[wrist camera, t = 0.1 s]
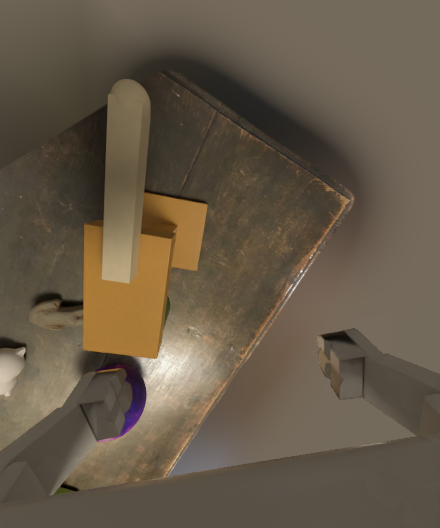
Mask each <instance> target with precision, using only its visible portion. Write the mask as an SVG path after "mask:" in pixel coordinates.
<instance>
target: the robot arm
mask: <svg viewBox="0 0 440 528" xmlns="http://www.w3.org/2000/svg"><path fill="white" fill-rule="evenodd" d="M317 344H318V345H319V347H320V350H319V351H318V361H319V365H320V368H321V370H322V372H323V374H324V375H325V377H327V378H329V379H330V380H331V387H332V388H333V390H334V392H335V393H336V395H337V396H338V398H339V399H340V400H346V399H353V398H361V397H363V399H365V400H366V401H368V402H369V403H371V404H372V405H373V406H375V407H376V408H378V409H379V410H381V411H382V412H383V413H385V414H386V415H388V416H389V417H391V418H392V419H394V420H395V421H397V422H398V423H399V424H401V425H402V426H404V427H405V428H407V429H408V430H409V431H411V432H412V433H414V434H415V435H417V436H416V437H410V438H404V439H398V440H391V441H386V442H379V443H374V444H366V445H361V446H354V447H348V448H342V449H335V450H330V451H324V452H317V453H311V454H305V455H299V456H292V457H286V458H280V459H274V460H268V461H262V462H256V463H250V464H243V465H238V466H231V467H224V468H219V469H212V470H206V471H200V472H193V473H187V474H181V475H175V476H169V477H162V478H156V479H150V480H144V481H138V482H131V483H125V484H119V485H113V486H107V487H100V488H94V489H88V490H82V491H76V492H70V493H63V494H57V495H53V494H54V493H55V492H56V490H57V489H58V488H59V487H60V486H61V485H62V483H63V482H64V481H65V480H66V479H67V477H68V476H69V475H70V474H71V473H72V471H73V470H74V469H75V468H76V467H77V466H78V464H79V463H80V462H81V461H82V460H83V458H84V457H85V456H86V455H87V454H88V452H89V451H90V450H91V449H92V448H93V446H94V445H95V444H96V443H97V441H98V440H103V439H109V438H114V437H119V436H120V434H121V431H122V428H123V425H124V423H125V420H126V419H125V416H124V414H125V413H126V412H127V411H128V410H129V409H130V406H131V403H132V395H133V394H132V387H131V385H130V383H129V382H127V381H126V380H125V379H126V376H127V374H126V371H125V369H123V368H116V369H109V370H102V371H97V372H90V373H86V374H84V375H83V376H82V378H81V379H80V381H79V382H78V384H77V385H76V387H75V388H74V390H73V391H72V393H71V394H70V396H69V397H68V399H67V400H66V402H65V403H64V405H63V406H62V407H61V408H57V409H56V410H54V411H53V412H52V413H51V414H49V415H48V416H47V417H45V418H44V419H43V420H41V421H40V422H39V423H37V424H36V425H35V426H34V427H32V428H31V429H30V430H28V431H27V432H26V433H24V434H23V435H22V436H20V437H19V438H18V439H16V440H15V441H14V442H13V443H11V444H10V445H9V446H7V447H6V448H5V449H3V450H2V451H1V452H0V528H440V374H438V373H435V372H433V371H430V370H428V369H425V368H423V367H420V366H418V365H415V364H412V363H410V362H407V361H405V360H402V359H400V358H397V357H395V356H392V355H389V354H382V352H380V351H379V350H378V349H377V348H376V347H375V346H374V345H373V344H372V343H371V342H370V341H369V340H368V339H367V338H366V337H365V336H364V335H362V334H361V333H360V332H359V331H358V330H357V329H355V328H353V329H348V330H343V331H339V332H333V333H327V334H322V335H318V337H317Z"/></svg>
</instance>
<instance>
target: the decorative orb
mask: <svg viewBox="0 0 440 528" xmlns="http://www.w3.org/2000/svg"><path fill="white" fill-rule="evenodd" d="M116 368H123V369H125V371H126V374H127V376H126V379H125V380H126V381H127V382H129V383H130V385H131V387H132V394H133V395H132V403H131V406H130V409H129V410H128V411H127V412H126V413H125V414H124V416H125V419H126V420H125V423H124V425H123V428H122V431H121V434H120V436H119V437H121V436H122V435H124V434H125V433H127V432H128V431H129V430H130V429H131V428H132V427H133V426H134V425H135V424H136V423H137V421H138V420H139V418H140V416H141V414H142V412H143V410H144V407H145V403H146V387H145V383H144V380H143V378H142V377H141V375H140V374H139V373H138V372H137V371H136V370H135V369H133V368H132V367H130V366H127V365H123V364H111V365H107V366H104V367H101V368H99V369H97V370H96V371H94V372H97V371H102V370H109V369H116ZM119 437H114V438H109V439H103V440H98V441H97V442H106V441H111V440H114V439H117V438H119Z"/></svg>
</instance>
